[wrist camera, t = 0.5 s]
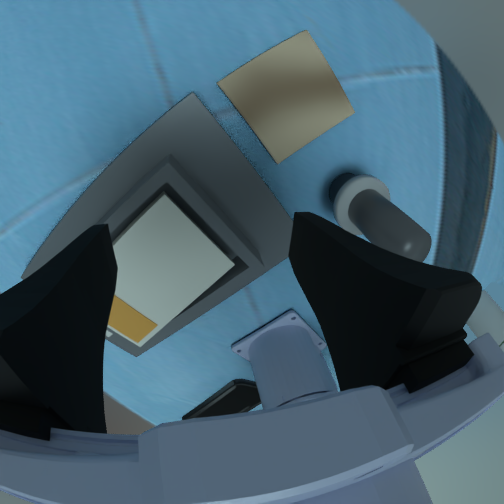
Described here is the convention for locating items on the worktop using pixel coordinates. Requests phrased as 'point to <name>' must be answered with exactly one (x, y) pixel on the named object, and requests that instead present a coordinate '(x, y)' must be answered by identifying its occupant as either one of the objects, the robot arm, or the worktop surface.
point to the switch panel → (184, 204)
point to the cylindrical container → (488, 319)
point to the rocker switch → (161, 269)
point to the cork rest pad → (288, 95)
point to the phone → (228, 400)
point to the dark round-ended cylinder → (376, 216)
